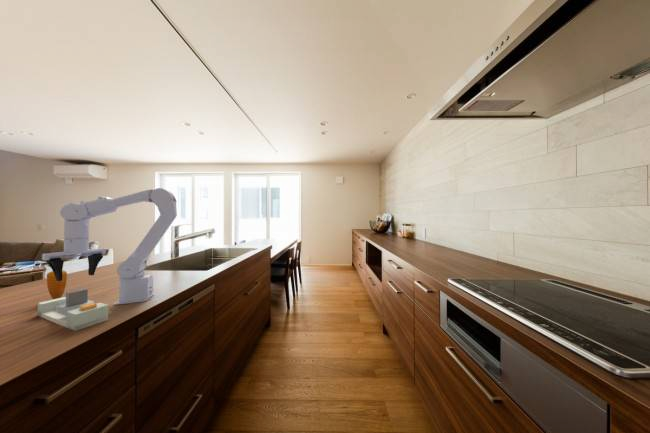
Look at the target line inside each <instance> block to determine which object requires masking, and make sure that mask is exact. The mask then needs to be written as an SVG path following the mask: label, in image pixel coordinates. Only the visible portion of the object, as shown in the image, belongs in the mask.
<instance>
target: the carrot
mask: <svg viewBox="0 0 650 433" xmlns="http://www.w3.org/2000/svg"><path fill="white" fill-rule="evenodd" d="M46 266H47V267H49V268H51V267H50V266H49V264H48V263H47V265H46ZM62 276H63V278H62V281H56V277H55V274H54V272H53V270H52V271H49V272H47V273H46V285H47V289H48V293H49V295H50V297H51V298H52V300H53V299H58V298H62V296H63V294H64V292H65V289H66V286H67V280H68V279H67V276H68V273H67V271H66V270H65V269H64V270H63V269H62Z"/></svg>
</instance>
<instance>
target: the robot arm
mask: <svg viewBox="0 0 650 433" xmlns="http://www.w3.org/2000/svg"><path fill="white" fill-rule="evenodd" d="M143 202H146V203H153V204H154V205H155V206H156V207H157V210H158V211H159V213H160V215H159V216H158V218H157V219H156V221H155V222H154V224H152V227H150V228H149V230H148V232H147V233H146V235H145V236H144V238H143V239H141V241H140V243H139V244H138V245H137V247H136V249H135V250H134V251H133V252H132V253H131V254H130V255H129V256H128V257H127V259H126V260H124V261H123V262H121V263H119V265H118V266H117V268H116V273H117V275H118V276H119V279H118V280H119V288H118V289H119V291H118V292H119V295H118V296H119V300H117V301H115V302H114V303H113V305H114V306H116V305H118V306H119V305H124V304H133V303H141V302H147V301H148V300H149V299H150V298H151V297H152V296H154V278H153V275H151V274H150V275H149V274H147V275H146V272H144V270H145V269H146V268H147V265H148V264H147V262H148V260H149V258H150V255H151V254H152V252H153V251H154V250H155V249H156V247H157V246H158V244H159V242H160V241H161V240H162V238H163V236H164V235H165V233H166V232H167V231H168V229H169V228H170V227H171V225H172V224H173V222H174V221H175V219H176V218H177V214H178V211H177V210H178V209H177V200H176V197H175V195H174V193H173V192H171V191H169V190H167V189H165V188H162V187H158V188H154V189H146V190H142V191H138V192H134V193H131V194H128V195H123V196H120V197H116V198H111V197H109V196H106V197H105V196H101V195H100V196H98V197H97V198H96V199H92V200H88V201H86V200H82V201H80V202H79V203H73V202H72V203H71V202H70V203H69V204H66V205H64V206H63V207H61V208H60V212H59V213H60V214H59V215H60V216H61V217H62V218H63V219H64V223H63V224H64V225H63V251H59V252H50V253H49V252H48V253H42V254H41V260H42V261H45V262H46V263H47V265H48V264H49V266H50V267H49V266H48V267H49V268H50V269H51V270H52V271H53V272H54V274H55V277H56V281H62V278H63V276H62V270H63V268H64V262H65V261H64V260H63V259H68V258H76V257H87V261H88V270H87V271H88V276H95V272H96V270H97V267H98V265H99V263H100V262H101V260H102V259H103V257H104V255H105V254H106V253H107V252H106V248H93V249H90V247H89V246H90V219H91V218H95V217H99V216H103V215H107V214H111V213H115V212H116V211H117V209H119V207H120V208H121V207H125V206H129V205H133V204H138V203H143Z"/></svg>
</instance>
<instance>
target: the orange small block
mask: <svg viewBox="0 0 650 433" xmlns="http://www.w3.org/2000/svg"><path fill="white" fill-rule="evenodd" d="M93 308H97V303H96V302H95V303H89V304H85V305H81V306H80V310H81V311H86V310H90V309H93Z"/></svg>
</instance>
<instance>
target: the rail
mask: <svg viewBox="0 0 650 433" xmlns="http://www.w3.org/2000/svg"><path fill="white" fill-rule="evenodd" d="M64 304H66V296H63V297H62V296H61V298H58V299H53V298H52V299H49V300H45V301H40V302H37V316H38V317H39V318H42V319H44V320H47V321H49V322H53V323H54V324H57V325H60V326H62V327H64V328H67V329H68V330H69V329H70V330H71V331H74V332H76V331H79V330H82V329H85V328H88V327H91V326H94V325H97V324H100V323H102V322H106V321H109V310H110V309H109V308H110V307H109V304H107V303H103V302H97V303H96V304H97V308H93V309H90V310H86V311H81V310H80V308H78V309H75V310H71V311H67V316H65V315H62V314H59V313H58V306H60V305H64Z"/></svg>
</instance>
